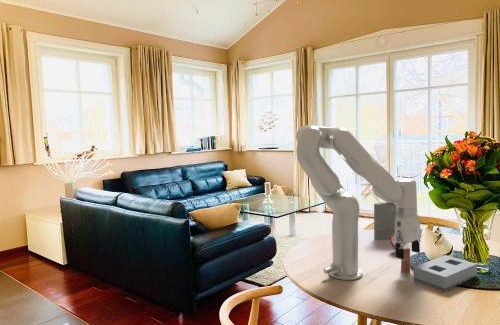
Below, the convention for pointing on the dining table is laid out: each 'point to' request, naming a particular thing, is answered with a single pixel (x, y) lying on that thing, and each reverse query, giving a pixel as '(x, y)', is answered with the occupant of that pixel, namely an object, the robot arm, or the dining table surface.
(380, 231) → the hip flask
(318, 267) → the dining table surface
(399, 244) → the strawberry
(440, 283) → the hole block
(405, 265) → the pin
